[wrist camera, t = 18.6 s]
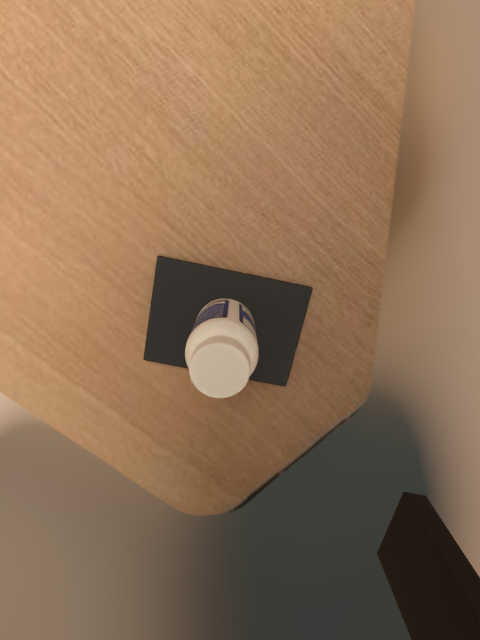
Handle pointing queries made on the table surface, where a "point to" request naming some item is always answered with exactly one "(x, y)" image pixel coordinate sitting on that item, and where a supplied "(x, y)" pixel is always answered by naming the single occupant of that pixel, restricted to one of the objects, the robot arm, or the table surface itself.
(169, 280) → the mat
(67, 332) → the table surface
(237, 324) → the pill bottle
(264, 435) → the table surface
